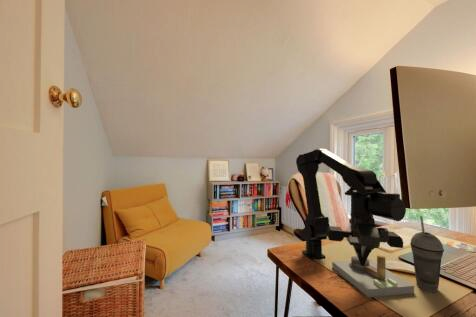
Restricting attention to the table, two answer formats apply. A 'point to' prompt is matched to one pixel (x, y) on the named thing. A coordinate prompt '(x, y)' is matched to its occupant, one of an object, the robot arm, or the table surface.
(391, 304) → the table surface
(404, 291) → the stand base
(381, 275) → the cam lever
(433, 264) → the beverage cup
